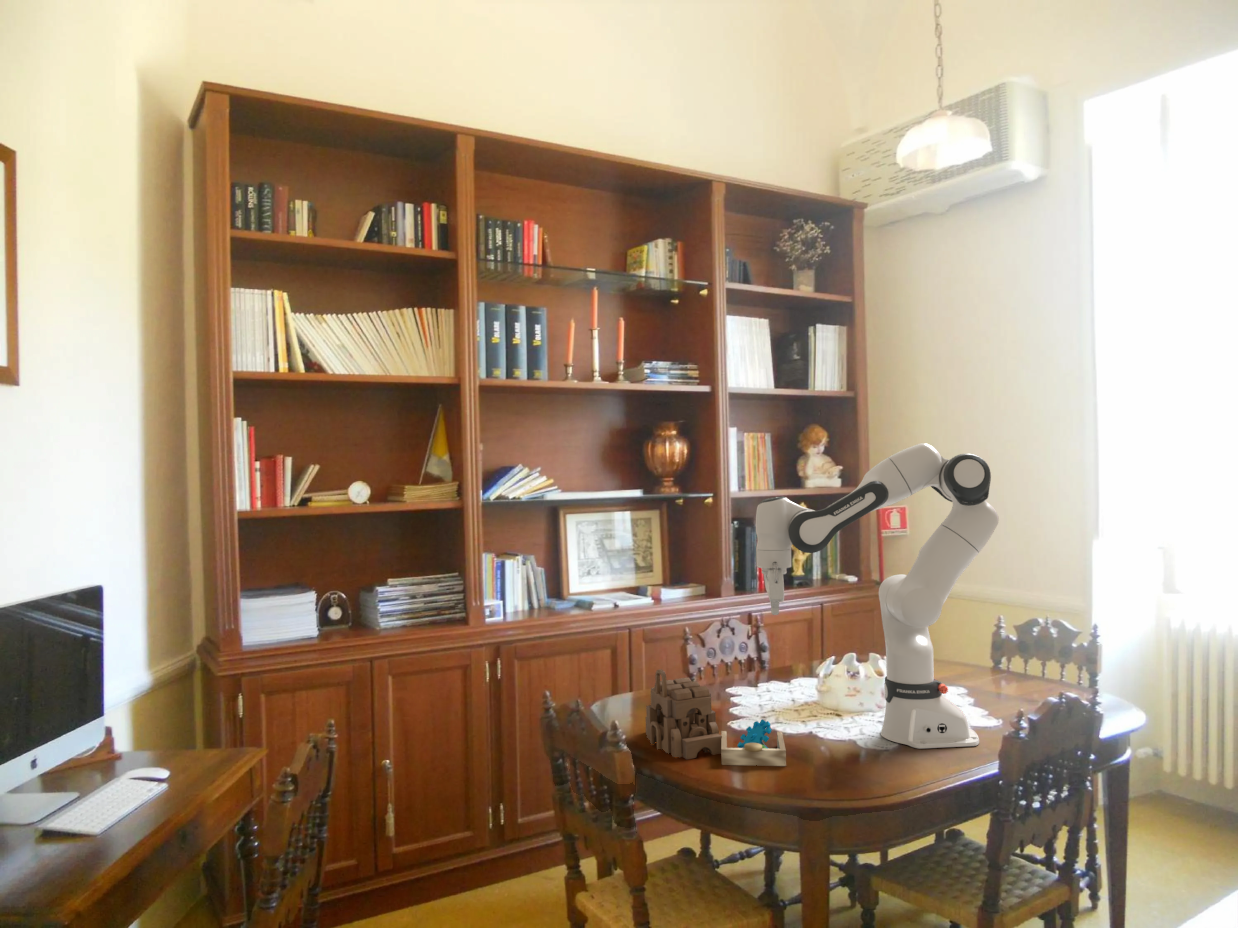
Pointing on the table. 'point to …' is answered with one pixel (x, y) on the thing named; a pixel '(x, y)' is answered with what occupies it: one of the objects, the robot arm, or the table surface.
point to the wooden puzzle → (682, 718)
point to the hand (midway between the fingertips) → (775, 613)
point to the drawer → (753, 753)
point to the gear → (756, 734)
